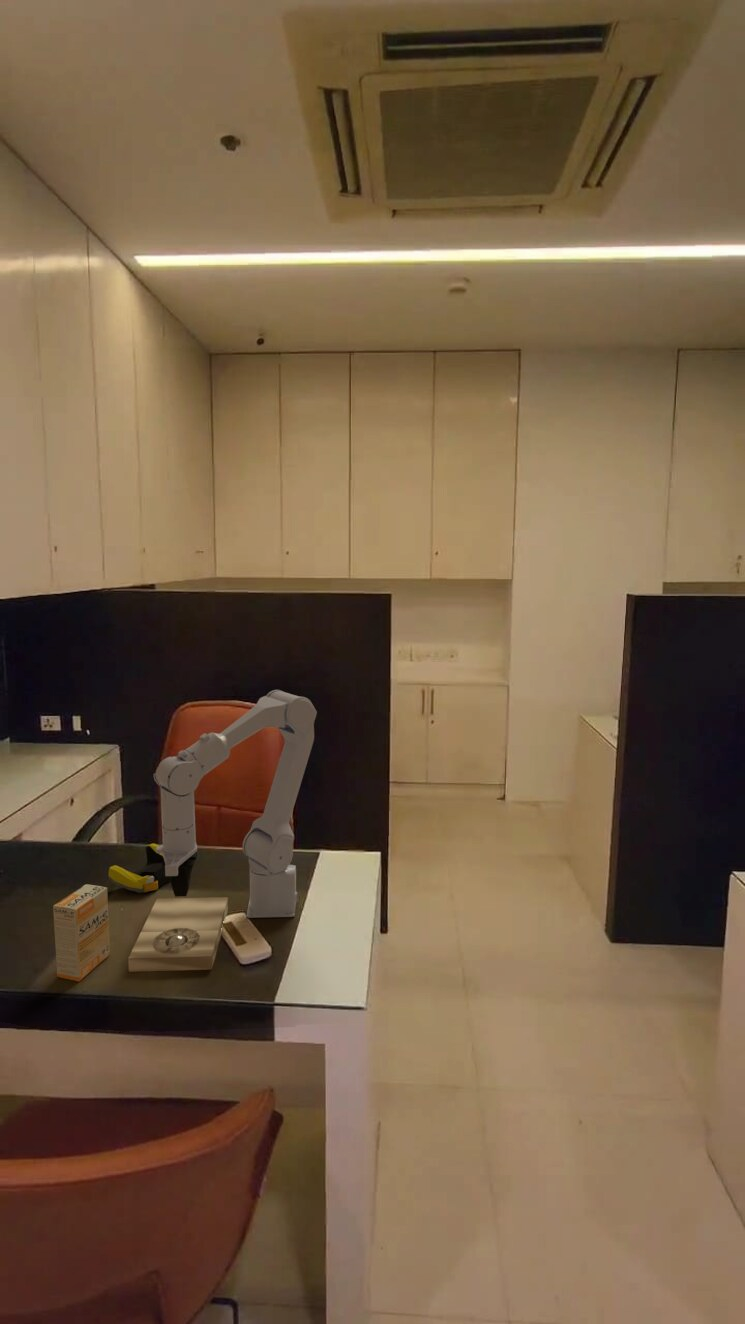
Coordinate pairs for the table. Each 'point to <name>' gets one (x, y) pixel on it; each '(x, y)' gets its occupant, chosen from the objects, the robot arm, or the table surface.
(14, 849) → the table surface
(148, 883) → the gaming controller
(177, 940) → the ball
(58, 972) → the supplement box
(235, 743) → the robot arm
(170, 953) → the beige flat block
